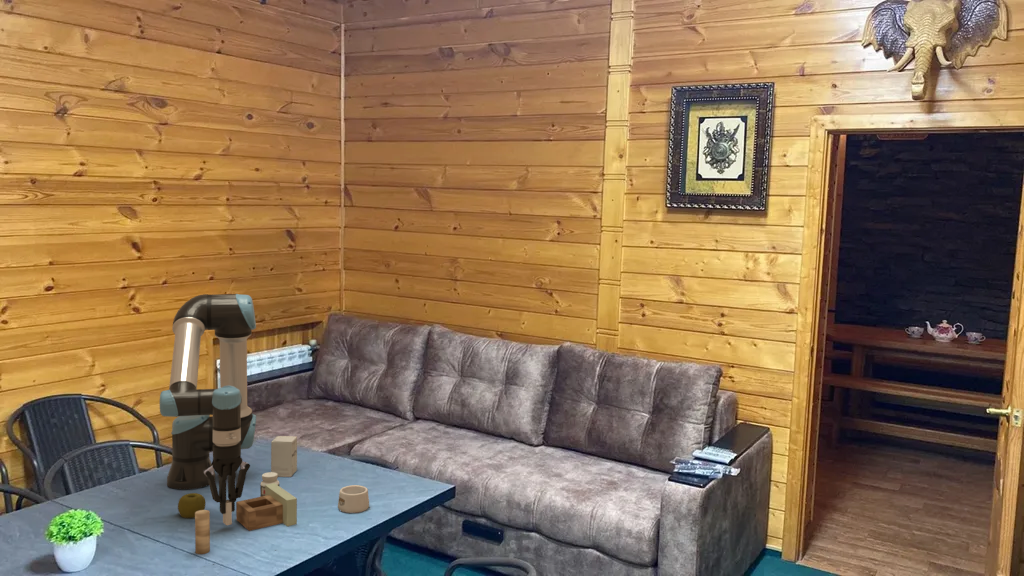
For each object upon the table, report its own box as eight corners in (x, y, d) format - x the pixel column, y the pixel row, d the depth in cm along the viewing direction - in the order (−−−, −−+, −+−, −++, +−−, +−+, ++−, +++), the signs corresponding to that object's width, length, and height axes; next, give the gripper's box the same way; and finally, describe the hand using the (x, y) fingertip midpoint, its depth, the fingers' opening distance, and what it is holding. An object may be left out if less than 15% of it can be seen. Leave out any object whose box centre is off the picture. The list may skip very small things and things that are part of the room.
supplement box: (291, 477, 277) (291, 441, 275) (270, 476, 277) (270, 441, 276) (297, 470, 284) (297, 435, 283) (276, 469, 284) (276, 435, 283)
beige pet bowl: (375, 509, 250) (375, 490, 249) (348, 516, 243) (349, 497, 242) (354, 498, 258) (354, 480, 258) (327, 505, 252) (328, 487, 251)
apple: (189, 525, 233) (188, 501, 232) (172, 519, 237) (171, 496, 236) (211, 517, 239) (210, 494, 238) (194, 511, 243) (193, 489, 243)
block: (236, 519, 234) (236, 501, 234) (269, 512, 241) (269, 494, 240) (249, 530, 227) (249, 512, 226) (282, 523, 233) (282, 504, 232)
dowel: (193, 555, 213) (193, 511, 212) (207, 551, 215) (206, 508, 214) (198, 560, 210) (197, 516, 209) (211, 556, 212) (211, 513, 211)
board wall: (180, 532, 227) (180, 502, 226) (274, 511, 245) (274, 483, 244) (199, 552, 215) (198, 519, 214) (296, 528, 233) (296, 498, 232)
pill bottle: (273, 509, 247) (273, 478, 246) (256, 507, 248) (256, 476, 247) (282, 502, 252) (282, 472, 251) (266, 501, 254) (266, 470, 253)
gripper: (208, 449, 218) (209, 533, 220) (254, 442, 227) (254, 522, 229) (198, 443, 224) (199, 524, 226) (244, 436, 232) (244, 514, 234)
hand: (227, 523), depth 227 cm, fingers closed
